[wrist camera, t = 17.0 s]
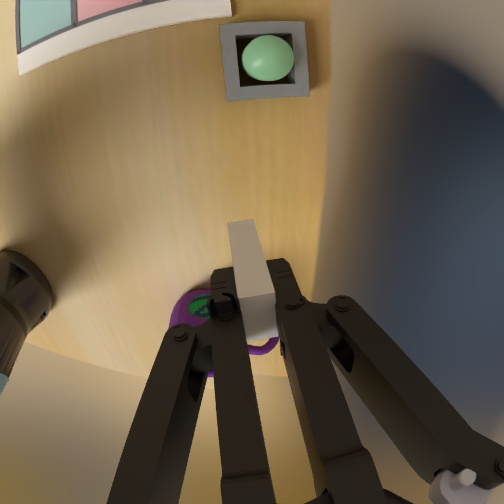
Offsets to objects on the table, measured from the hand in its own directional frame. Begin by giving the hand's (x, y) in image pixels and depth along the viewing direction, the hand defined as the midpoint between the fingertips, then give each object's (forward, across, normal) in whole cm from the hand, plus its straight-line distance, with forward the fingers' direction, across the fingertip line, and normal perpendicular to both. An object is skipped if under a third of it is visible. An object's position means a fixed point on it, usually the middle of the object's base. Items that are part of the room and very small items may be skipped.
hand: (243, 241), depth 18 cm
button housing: (+21, +6, +11) cm, 25 cm away
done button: (+20, +6, +11) cm, 24 cm away
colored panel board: (+22, -11, +28) cm, 37 cm away
